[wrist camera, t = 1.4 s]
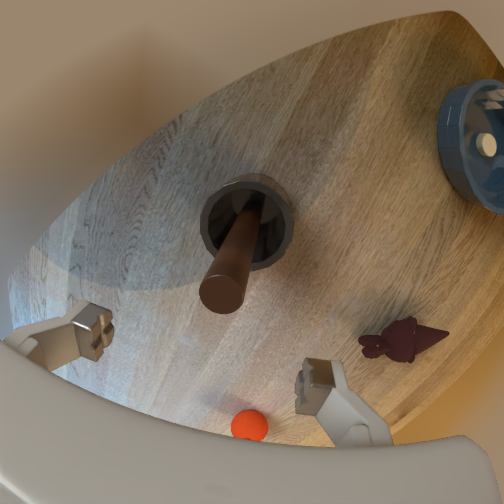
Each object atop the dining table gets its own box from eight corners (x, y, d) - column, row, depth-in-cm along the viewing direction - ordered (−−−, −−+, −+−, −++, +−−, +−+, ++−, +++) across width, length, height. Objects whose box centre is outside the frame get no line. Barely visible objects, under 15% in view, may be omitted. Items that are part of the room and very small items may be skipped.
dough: (472, 139, 26) (479, 140, 25) (483, 129, 25) (490, 129, 24) (481, 159, 27) (488, 160, 25) (492, 148, 26) (499, 149, 25)
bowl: (411, 119, 28) (435, 116, 22) (479, 67, 22) (503, 61, 17) (467, 226, 31) (490, 240, 26) (524, 166, 26) (548, 172, 21)
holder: (202, 205, 34) (181, 222, 27) (256, 157, 31) (250, 160, 24) (249, 257, 36) (242, 287, 28) (304, 214, 33) (312, 234, 26)
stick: (238, 209, 33) (189, 291, 15) (253, 196, 32) (221, 265, 14) (251, 224, 34) (220, 322, 15) (266, 211, 33) (253, 299, 14)
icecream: (462, 318, 30) (364, 331, 33) (454, 364, 30) (361, 379, 34) (442, 304, 36) (356, 314, 40) (437, 345, 37) (355, 357, 40)
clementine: (243, 427, 50) (239, 454, 43) (221, 410, 48) (215, 439, 41) (276, 416, 47) (275, 445, 41) (254, 398, 46) (251, 429, 39)
